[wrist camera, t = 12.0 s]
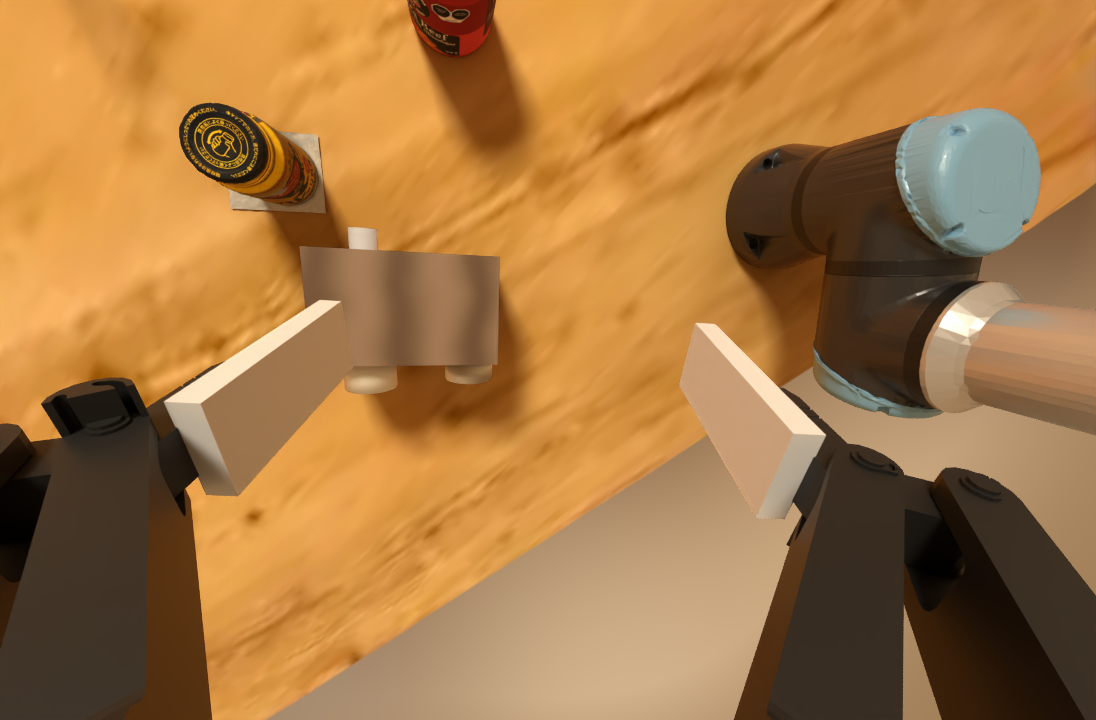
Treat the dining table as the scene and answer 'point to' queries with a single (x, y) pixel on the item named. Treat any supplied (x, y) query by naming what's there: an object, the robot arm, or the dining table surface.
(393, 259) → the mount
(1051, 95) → the dining table surface
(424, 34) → the canned food
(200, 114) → the condiment
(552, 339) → the dining table surface
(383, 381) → the knob
